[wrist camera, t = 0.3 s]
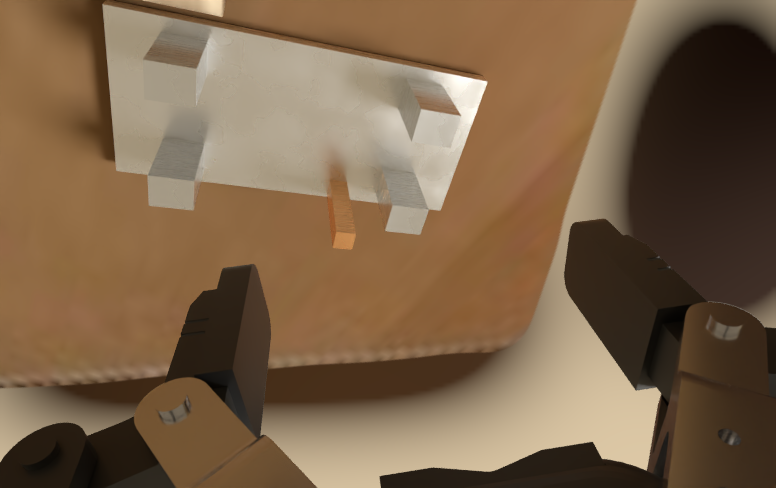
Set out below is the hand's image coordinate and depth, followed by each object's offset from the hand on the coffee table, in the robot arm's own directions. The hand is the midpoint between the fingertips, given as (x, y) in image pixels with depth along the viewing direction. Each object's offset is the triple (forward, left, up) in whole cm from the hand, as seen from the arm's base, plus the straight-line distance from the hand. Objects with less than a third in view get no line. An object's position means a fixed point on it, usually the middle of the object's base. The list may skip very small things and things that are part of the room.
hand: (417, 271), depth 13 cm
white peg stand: (+6, -2, -22) cm, 23 cm away
